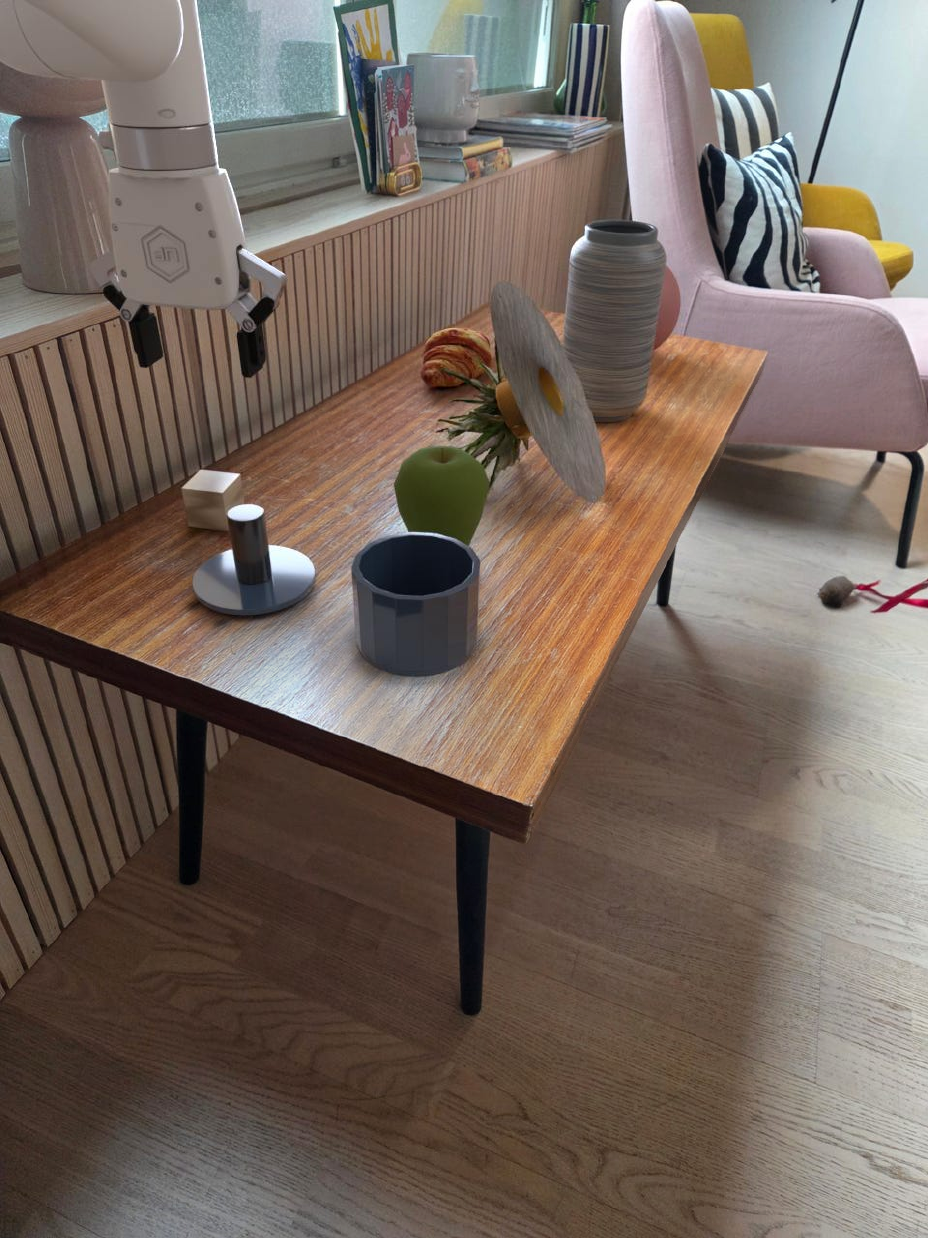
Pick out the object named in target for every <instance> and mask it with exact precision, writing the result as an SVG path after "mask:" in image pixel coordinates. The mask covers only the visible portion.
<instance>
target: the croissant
mask: <svg viewBox="0 0 928 1238" xmlns="http://www.w3.org/2000/svg"><path fill="white" fill-rule="evenodd" d="M473 357H476V358H477V359H478V360H479V361H481V362H482V363H483V364H484V365H486V366H487V367H489V368H490V369H491V366H493V353H492V349H491V339H490V338H489V336H488V335H487V334H484V333H483V332H480V331H478V330H473V329H470V328H468V327H448V328H445V329H441V330H439V331H436V332H434V333H433V334H431V336H430V338H428V340H427V341H426V342H425V345H424V348H423V352H422V365H421V369H420V378H421V379H422V381H423V382H424V383H425V384H426V385H427V386H430V387H433V388H434V387H459V386H460V385H461V384H464V383H465V382H464V381H462V380H460V379H459V378H457V377H455V376H452V375H448V374H446V373H445V372H442V371H441V370H440V368H441V369H447V370H452V371H453V372H456V373H458V374H460V375H463V376H465V377H468V378H469V379H474V380H476V379H477V378H478V377H479V376H481V375H483V374H484V373H485V372H486V370H485V369H484V368H482V367H480V364H478V363H477V361H476V360H475V359H474V358H473Z"/></svg>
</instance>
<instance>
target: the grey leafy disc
mask: <svg viewBox="0 0 928 1238" xmlns="http://www.w3.org/2000/svg"><path fill="white" fill-rule="evenodd" d="M491 290H492V291H491V294H490V305H489V306H490V307H489V310H490V317H491V325H492V331H493V336H494V338H493V341H494V358H495V364H496V365H495V366H496V372H495V371H494V370H493V369H491V367H490V368H489V367H487V366H486V365H484V364H483V363H482V362H481V361H479V360H478V359H477V358H476V357H473V358H474V359H475V360H476V361H477V363H478V364H480V367H482V368H484V369H485V370H486V371H485V372H486V373H487V374H488V377H489V378H490V380H491V381H492V383H493V384H494V385H495V386H493V385H492V384H491V383H489V384H488V385H485V384H484V383H483V382H481V381H480V380H477V379H469V378H468V377H465V376H463V375H460V374H458V373H456V372H453V371H452V370H447V369H441V368H440V370H441V371H442V372H445V373H446V374H448V375H452V376H455V377H457V378H459V379H460V380H462V381H464V383H465V384H467V385H468V386H471V387H472V388H474V389H475V390H476V391H478V392H480V394H481V395H480V394H473V395H472V396H473V397H476V398H478V399H470V398H469V399H467V398H453V399H451V400H449V403H454V402H457V403H459V402H461V403H465V404H475V405H480V406H477V407H475V408H473V411H470V410H469V411H468V413H467V414H461V415H453V413H450V415H449V417H448V419H447V418H445V419H444V418H441V417H440V418H439V419H438V420H436V423H435V425H437V426H438V425H439V423H440V422H443V423H447V424H448V425H453V426H455V427H445V428H441V429H437V430H436V431H435V434H439V433H440V434H441V433H444V432H446V433H447V437H446V439H447V441H448V442H451V441H452V440H453V439H454V438H457V437H459V436H461V435H463V434H464V433H466V432H467V433H475V434H476V433H477V434H480V435H479V436H478V438H476V439H475V440H474V441H472V442H470V443H468V444H466V445H464V446H462V447H458V448H459V449H462V450H464V451H465V452H467V453H468V454H470V455H471V456H472V457H474V458H475V459H476V460H477V458H478V457H480V456H481V455H483V454H484V453H485V452H487V453H486V455H485V456H484V458H483V459H482V460H481V462H480V463H481V464H482V466H483V467H484V468H485V470H486V469H487V468H488V467H489V466H490V464H491V463H492V461H493V460H494V459H495V464H494V466H493V469H492V473H491V476H490V480H489V483H490V486H489V490H488V494H487V495H489V494H490V493H491V492H492V491H493V490H494V483H495V481H496V480H497V478H498V476H499V474H500V473H501V471H504V472H505V471H506V470H507V468H509V467H513V466H514V465H515V464H516V462H517V461H519V462H520V461H521V458H520V456H521V455H520V453H521V452H520V451H521V443H522V444H523V446H524V448H525V450H526V451H529V439H530V438H531V437H532V439H533V441H534V442H535V443H536V444H537V446H538V448H539V449H540V451H541V452H542V453H543V455H544V457H545V458H546V460H547V461H548V463H549V464H550V465H551V467H552V469H553V470H554V472H555V473H557V476H559V478H560V479H561V481H563V482H564V484H565V485H566V486H567V487H568V488H569V489H570V491H572V492H574V493H575V494H576V495H577V496H579V497H580V498H581V499H583V500H585V501H587V502H589V503H597V502H599V501H600V500H601V499H602V497H603V496H604V493H605V489H606V484H607V483H606V482H607V471H606V464H605V459H604V454H603V450H602V444H601V438H600V434H599V431H598V428H597V424H596V422H595V421H594V418H593V415H592V413H591V411H590V409H589V407H588V405H587V402H586V398H585V395H584V390H583V387H582V385H581V382H580V380H579V378H578V376H577V374H576V372H575V370H574V369H573V367H572V365H571V364H570V362H569V360H568V358H567V356H566V353H565V351H564V349H563V347H562V345H563V344H562V342H561V341H560V339H559V337H558V335H557V334H556V331H555V330H554V328H553V326H552V325H551V323H550V322H549V320H548V318H547V317H546V316H545V314H544V313H543V312H542V311H541V309H540V308H539V306H537V304H535V302H534V301H533V300H532V298H530V297H529V295H527V294H526V293H525V292H524V291H523V290H522V289H521V288H520V287H518V286H517V285H515V284H513V283H512V282H510V281H507V280H499V281H498V282H496V283H495V284H494V285H493V287H492V289H491ZM457 419H458V421H455V420H457Z"/></svg>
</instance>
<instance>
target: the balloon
mask: <svg viewBox="0 0 928 1238" xmlns="http://www.w3.org/2000/svg"><path fill="white" fill-rule="evenodd" d="M680 291H681V290H680V287H679V284H678V281H677V278H676V277H675V274H674V273H673V272H672V270H671V269H670V267H669V266H668V265H667V264H666V268H665V274H664V281H663V288H662V295H661V301H660V308H659V315H658V321H657V328H656V335H655V341H654V348H653V352H654V351H656V350H657V349H659V348H660V347H661V346H662V345H663V344H664V343H665V342H666V341H667V340H668V339H669V338H670V336H671V335H672V333H673V331H674V330H675V327H676V325H677V323H678V320H679V316H680V313H681V302H682V301H681V292H680Z"/></svg>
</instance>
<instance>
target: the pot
mask: <svg viewBox="0 0 928 1238" xmlns="http://www.w3.org/2000/svg"><path fill="white" fill-rule="evenodd" d="M350 570H351V587H352V603H353V617H354V632H355V639H356V644H357V648H358V651H359V653H360V654H361V655H362V657H363V658H364V659H365V660H366V661H367V662H368V663H369V664H371V665H372V666H374V667H376V668H378V669H379V670H381V671H384V672H387V673H389V674H393V675H398V676H405V677H428V676H434V675H440V674H443V673H446V672H448V671H451V670H453V669H456V668H457V667H459V666H461V665H463V663H465V662H466V661H468V660H469V659H470V657H471V656H472V655H473V653H474V651H475V649H476V648H477V644H478V632H479V610H480V609H479V608H480V585H481V583H480V580H481V560H480V558H479V556H478V555H477V553H476V552H475V550H474V549H473V548H472V547H471V546H470V545H469V546H467V545H466V544H464V543H462V542H461V541H459V540H457V539H455V538H452V537H448V536H444V535H440V534H437V533H424V532H408V531H406V532H401V533H400V532H399V533H394V534H388V535H385V536H383V537H380V538H377V539H375V540H372V541H370V542H368V543H367V544H366V545H364V546H363V547H362V548H361V549H360V550H358V551H357V552H356V553H355V555H354V558H353V561H352V564H351V567H350Z"/></svg>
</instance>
